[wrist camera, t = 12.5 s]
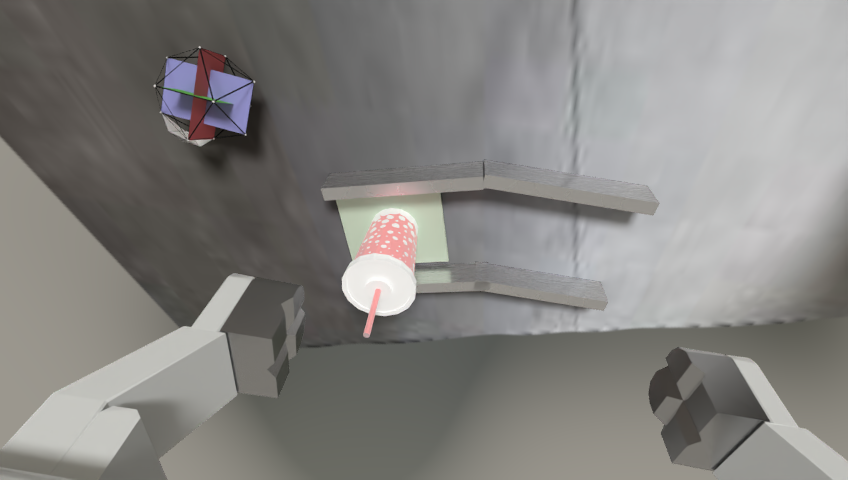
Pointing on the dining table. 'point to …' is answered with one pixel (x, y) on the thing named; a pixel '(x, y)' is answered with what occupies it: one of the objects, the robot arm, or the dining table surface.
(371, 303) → the beverage cup
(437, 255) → the pad
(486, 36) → the dining table surface
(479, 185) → the rail corridor
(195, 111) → the geometric puzzle
